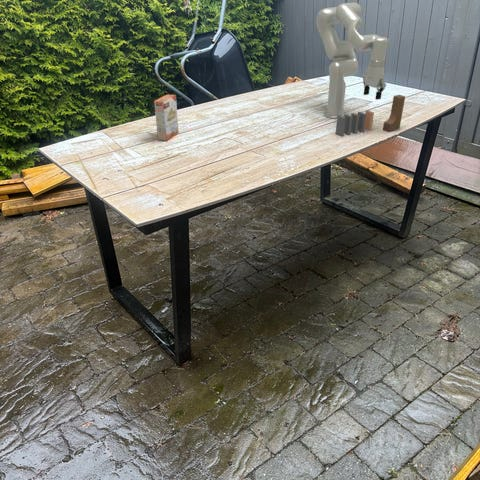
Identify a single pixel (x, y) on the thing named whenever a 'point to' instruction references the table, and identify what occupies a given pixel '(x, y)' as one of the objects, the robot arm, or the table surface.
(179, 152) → the table surface
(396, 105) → the wooden block
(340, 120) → the domino
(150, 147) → the table surface
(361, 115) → the domino
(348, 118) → the domino
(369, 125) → the domino
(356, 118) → the domino
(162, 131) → the cracker box
